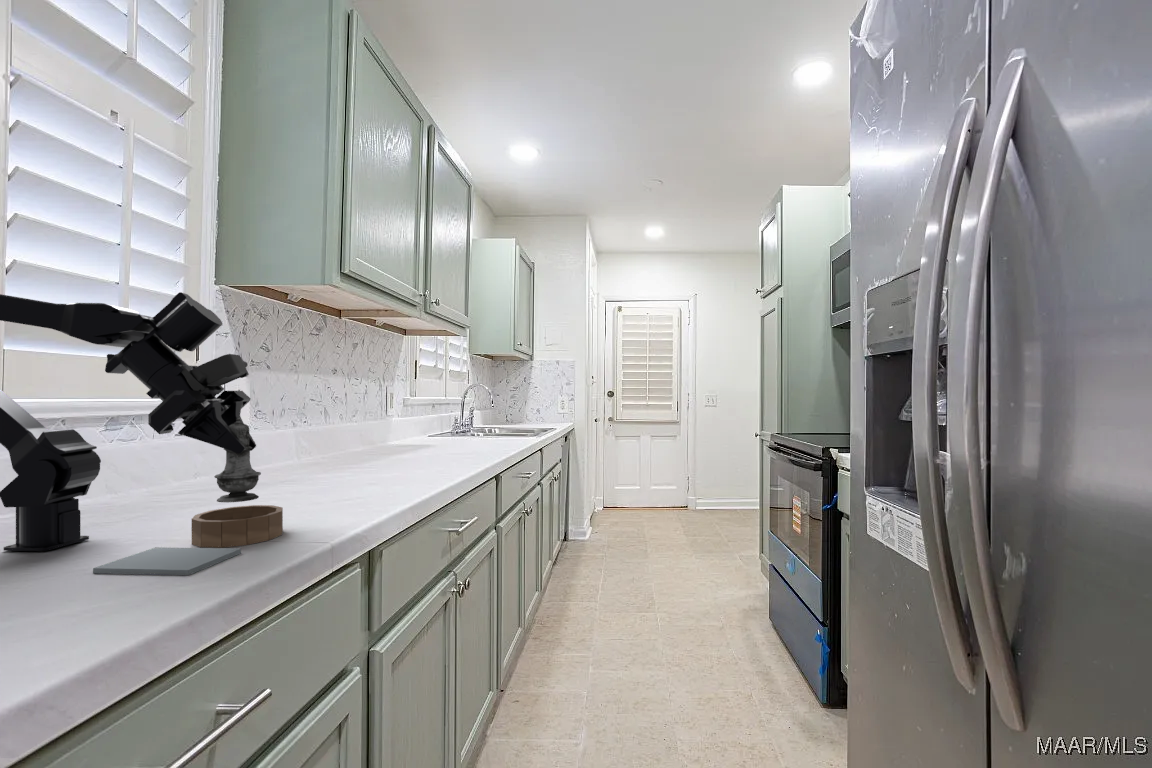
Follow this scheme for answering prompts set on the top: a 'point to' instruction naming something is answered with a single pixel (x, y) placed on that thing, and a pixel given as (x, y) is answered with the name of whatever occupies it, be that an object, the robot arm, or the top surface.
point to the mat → (168, 561)
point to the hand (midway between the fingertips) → (248, 449)
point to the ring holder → (237, 526)
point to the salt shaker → (238, 470)
